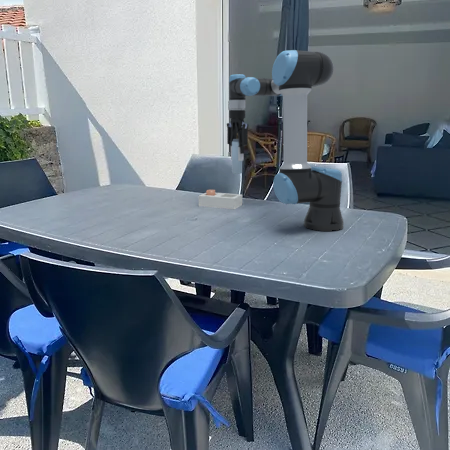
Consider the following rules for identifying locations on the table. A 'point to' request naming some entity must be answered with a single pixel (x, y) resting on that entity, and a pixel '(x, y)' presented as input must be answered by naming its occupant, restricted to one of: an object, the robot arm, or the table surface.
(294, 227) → the table surface
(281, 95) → the robot arm
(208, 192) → the plunger
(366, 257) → the table surface
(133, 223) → the table surface
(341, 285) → the table surface
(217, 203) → the housing
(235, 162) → the cartridge
